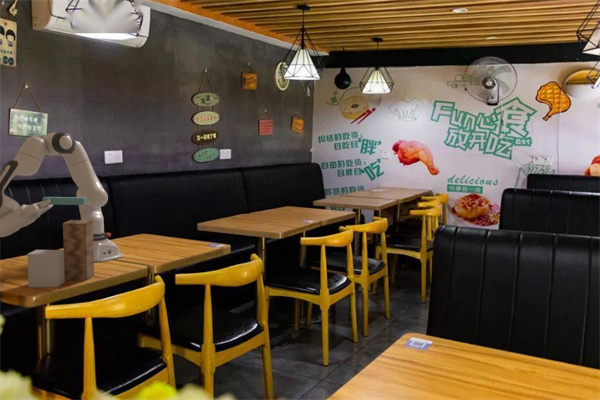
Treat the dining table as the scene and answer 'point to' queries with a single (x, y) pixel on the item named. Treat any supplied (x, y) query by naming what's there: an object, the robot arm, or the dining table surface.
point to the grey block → (46, 268)
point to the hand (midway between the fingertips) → (52, 199)
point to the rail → (66, 200)
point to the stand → (78, 250)
